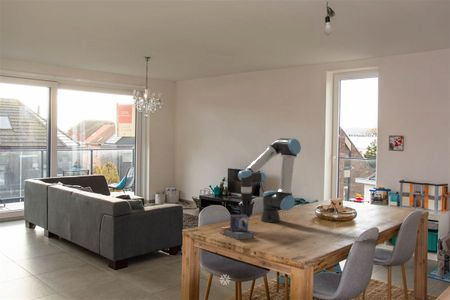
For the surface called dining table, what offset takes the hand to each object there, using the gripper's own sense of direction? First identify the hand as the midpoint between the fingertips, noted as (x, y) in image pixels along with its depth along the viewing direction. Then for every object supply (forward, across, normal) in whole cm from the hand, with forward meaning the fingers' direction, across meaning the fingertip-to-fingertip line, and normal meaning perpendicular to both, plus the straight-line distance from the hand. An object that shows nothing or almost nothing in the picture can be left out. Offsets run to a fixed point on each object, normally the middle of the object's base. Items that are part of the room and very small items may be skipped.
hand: (246, 225), depth 272 cm
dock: (+3, +15, +8) cm, 17 cm away
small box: (0, +15, +10) cm, 18 cm away
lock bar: (+3, +15, 0) cm, 15 cm away
